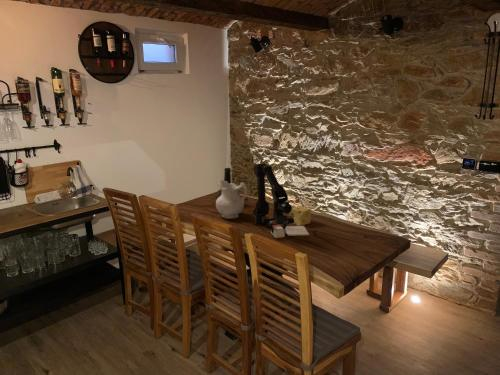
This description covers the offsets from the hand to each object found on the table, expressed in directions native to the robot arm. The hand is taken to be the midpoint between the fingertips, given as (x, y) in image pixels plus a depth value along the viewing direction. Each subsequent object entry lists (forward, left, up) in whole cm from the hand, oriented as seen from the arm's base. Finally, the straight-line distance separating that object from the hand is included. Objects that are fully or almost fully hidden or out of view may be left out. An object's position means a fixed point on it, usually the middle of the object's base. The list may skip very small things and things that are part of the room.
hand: (277, 233), depth 237 cm
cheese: (+18, +20, -1) cm, 27 cm away
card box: (0, 0, -1) cm, 1 cm away
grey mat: (+13, +5, -1) cm, 14 cm away
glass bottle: (-28, +62, -1) cm, 68 cm away
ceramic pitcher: (-26, +36, -1) cm, 44 cm away
